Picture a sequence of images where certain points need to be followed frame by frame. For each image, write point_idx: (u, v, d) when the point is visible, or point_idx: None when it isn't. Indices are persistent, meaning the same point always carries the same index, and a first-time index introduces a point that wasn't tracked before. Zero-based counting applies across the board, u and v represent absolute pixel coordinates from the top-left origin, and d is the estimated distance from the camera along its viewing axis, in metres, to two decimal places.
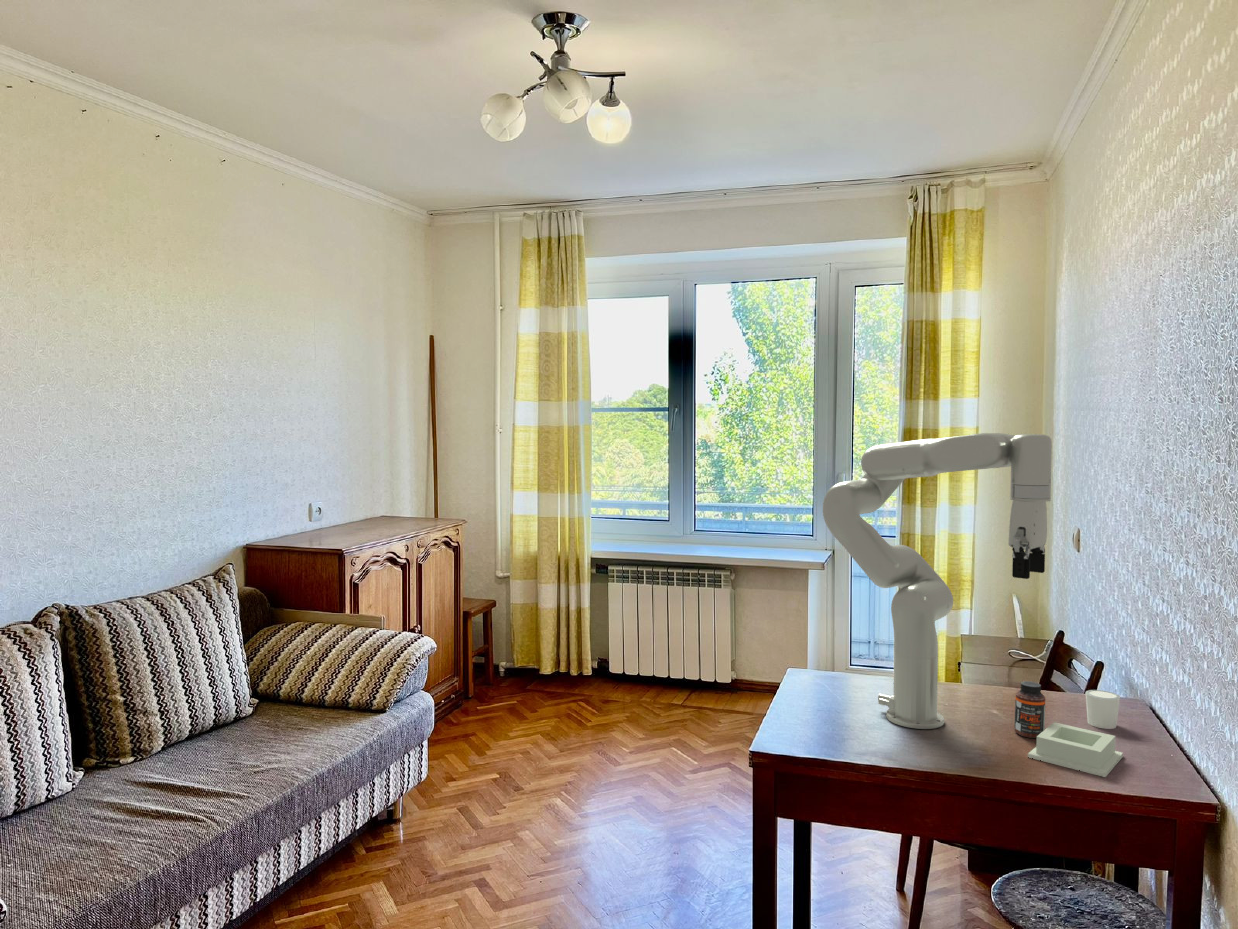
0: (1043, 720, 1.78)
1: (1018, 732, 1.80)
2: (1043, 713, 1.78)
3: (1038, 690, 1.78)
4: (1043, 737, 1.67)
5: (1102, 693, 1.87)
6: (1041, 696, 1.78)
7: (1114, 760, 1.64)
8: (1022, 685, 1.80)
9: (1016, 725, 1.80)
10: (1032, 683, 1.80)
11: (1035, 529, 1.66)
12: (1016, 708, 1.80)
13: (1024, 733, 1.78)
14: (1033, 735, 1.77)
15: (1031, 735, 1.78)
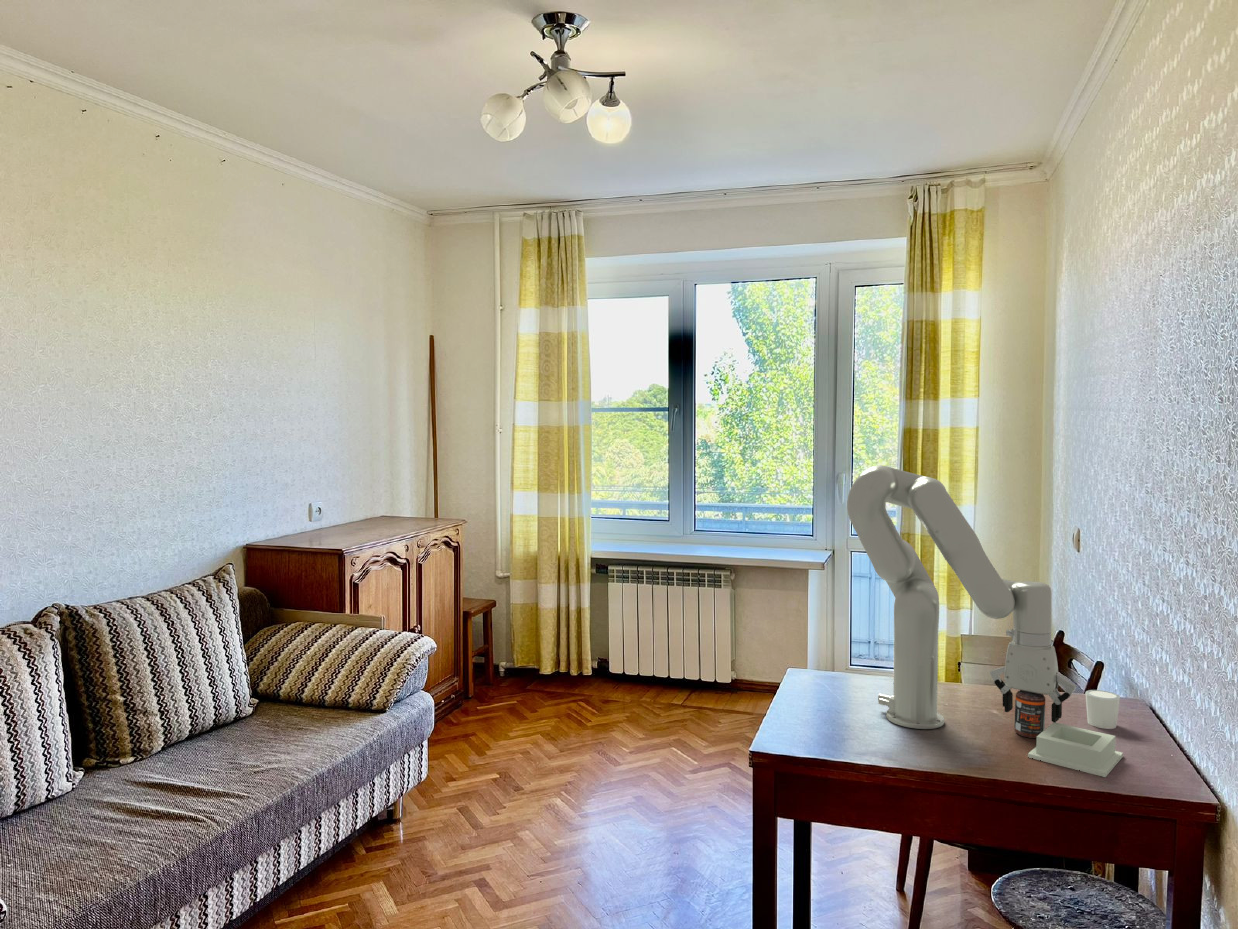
0: (1043, 720, 1.78)
1: (1018, 732, 1.80)
2: (1043, 713, 1.78)
3: None
4: (1043, 737, 1.67)
5: (1102, 693, 1.87)
6: (1041, 696, 1.78)
7: (1114, 760, 1.64)
8: None
9: (1016, 725, 1.80)
10: None
11: None
12: (1016, 708, 1.80)
13: (1024, 733, 1.78)
14: (1033, 735, 1.77)
15: (1031, 735, 1.78)
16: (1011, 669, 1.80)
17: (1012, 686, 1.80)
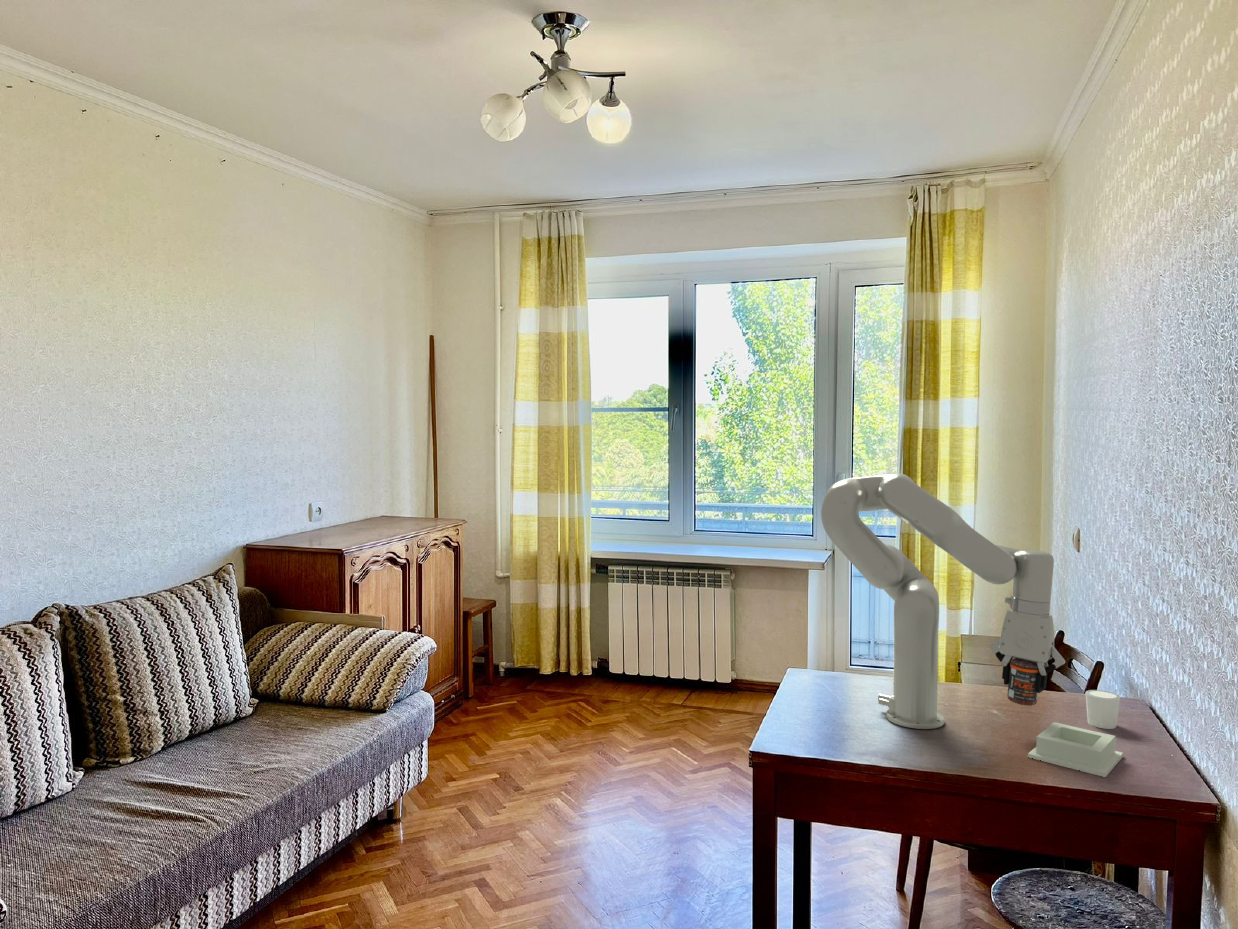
0: None
1: (1011, 699, 1.80)
2: None
3: None
4: (1043, 737, 1.67)
5: (1102, 693, 1.87)
6: None
7: (1114, 760, 1.64)
8: None
9: (1010, 692, 1.80)
10: None
11: None
12: (1010, 675, 1.80)
13: (1017, 700, 1.78)
14: (1026, 702, 1.78)
15: (1024, 702, 1.78)
16: (1007, 635, 1.80)
17: (1007, 653, 1.80)
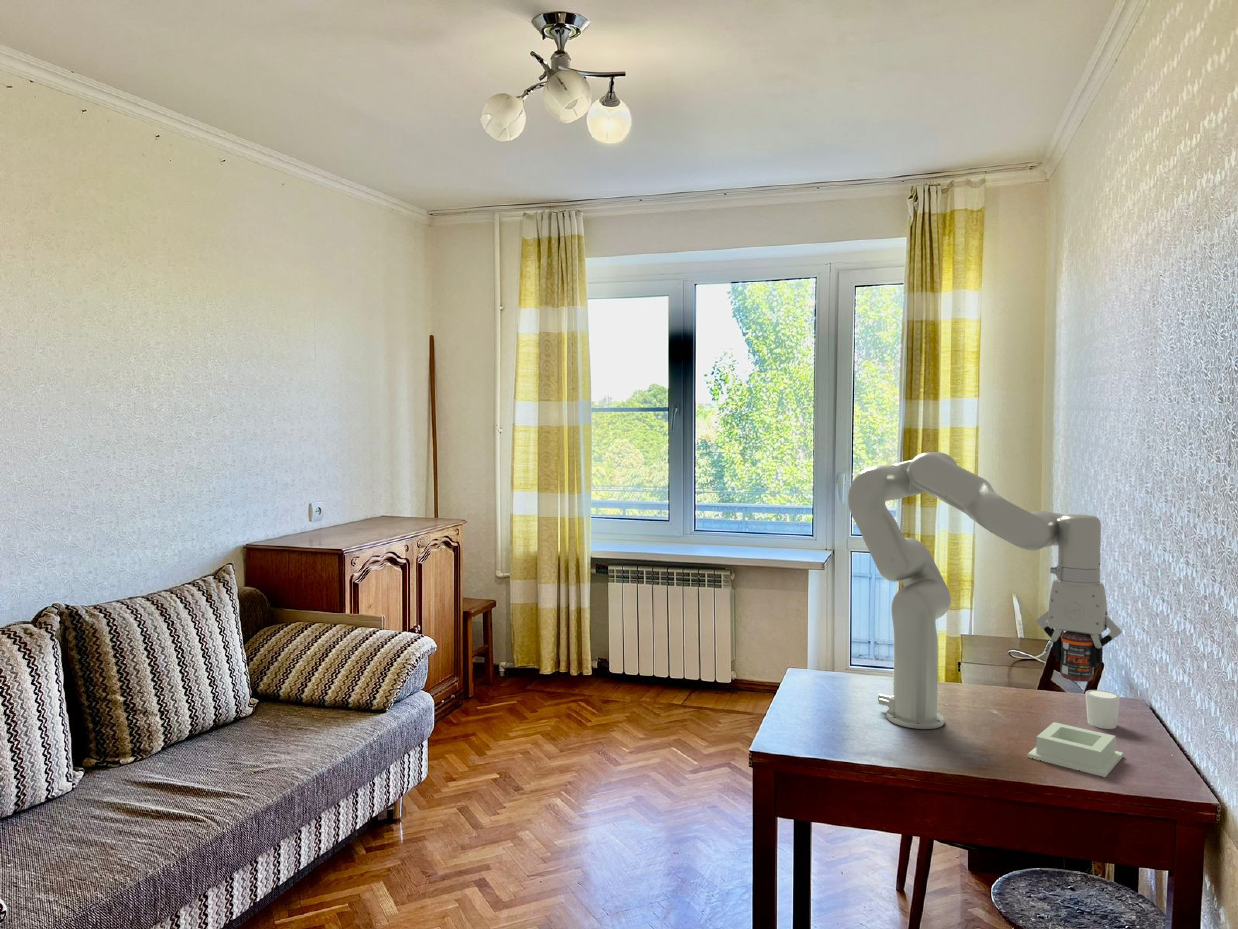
0: None
1: (1065, 676, 1.66)
2: None
3: None
4: (1043, 737, 1.67)
5: (1102, 693, 1.87)
6: (1090, 636, 1.65)
7: (1114, 760, 1.64)
8: None
9: (1063, 668, 1.67)
10: None
11: None
12: (1062, 650, 1.67)
13: (1072, 676, 1.65)
14: (1082, 678, 1.64)
15: (1080, 678, 1.64)
16: (1056, 608, 1.67)
17: (1057, 627, 1.67)
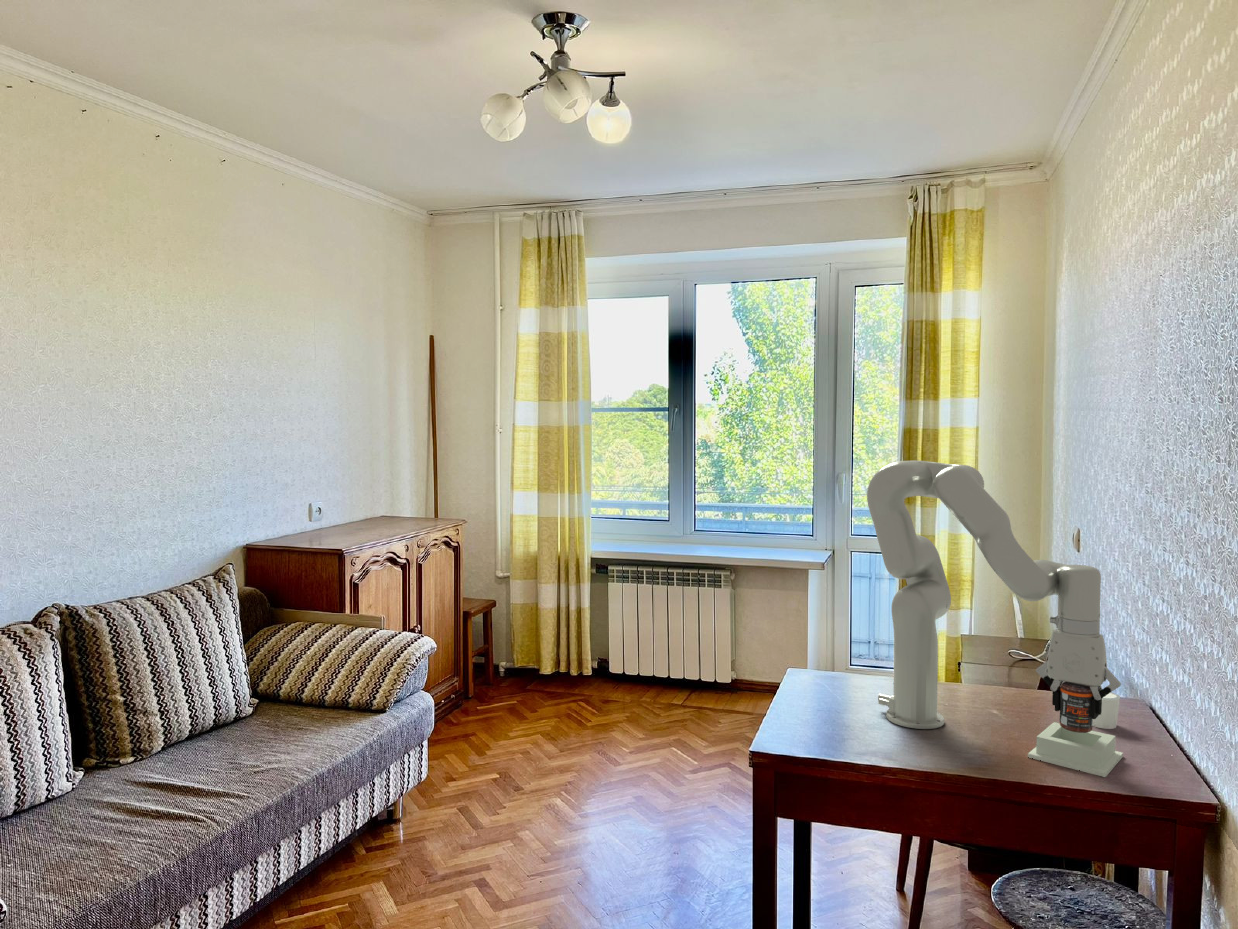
0: None
1: (1064, 726, 1.67)
2: None
3: None
4: (1043, 737, 1.67)
5: None
6: None
7: (1114, 760, 1.64)
8: None
9: (1062, 719, 1.67)
10: None
11: None
12: (1062, 700, 1.67)
13: (1071, 727, 1.65)
14: (1081, 729, 1.65)
15: (1079, 729, 1.65)
16: (1055, 658, 1.67)
17: (1056, 677, 1.67)
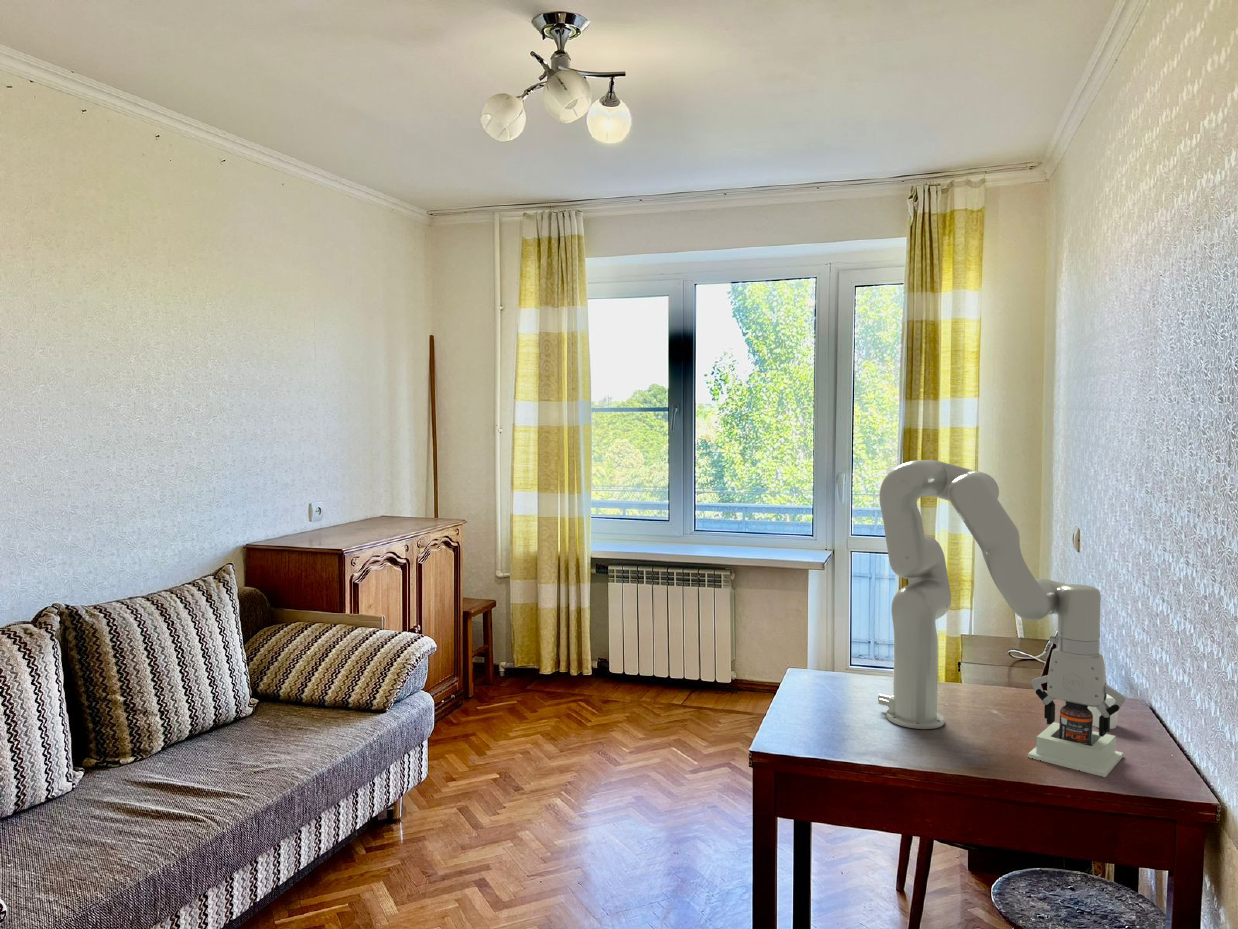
0: (1091, 738, 1.65)
1: None
2: (1091, 730, 1.65)
3: (1085, 706, 1.65)
4: (1043, 737, 1.67)
5: None
6: (1089, 712, 1.65)
7: (1114, 760, 1.64)
8: None
9: None
10: None
11: None
12: (1061, 725, 1.68)
13: None
14: None
15: None
16: (1055, 678, 1.67)
17: (1056, 697, 1.67)
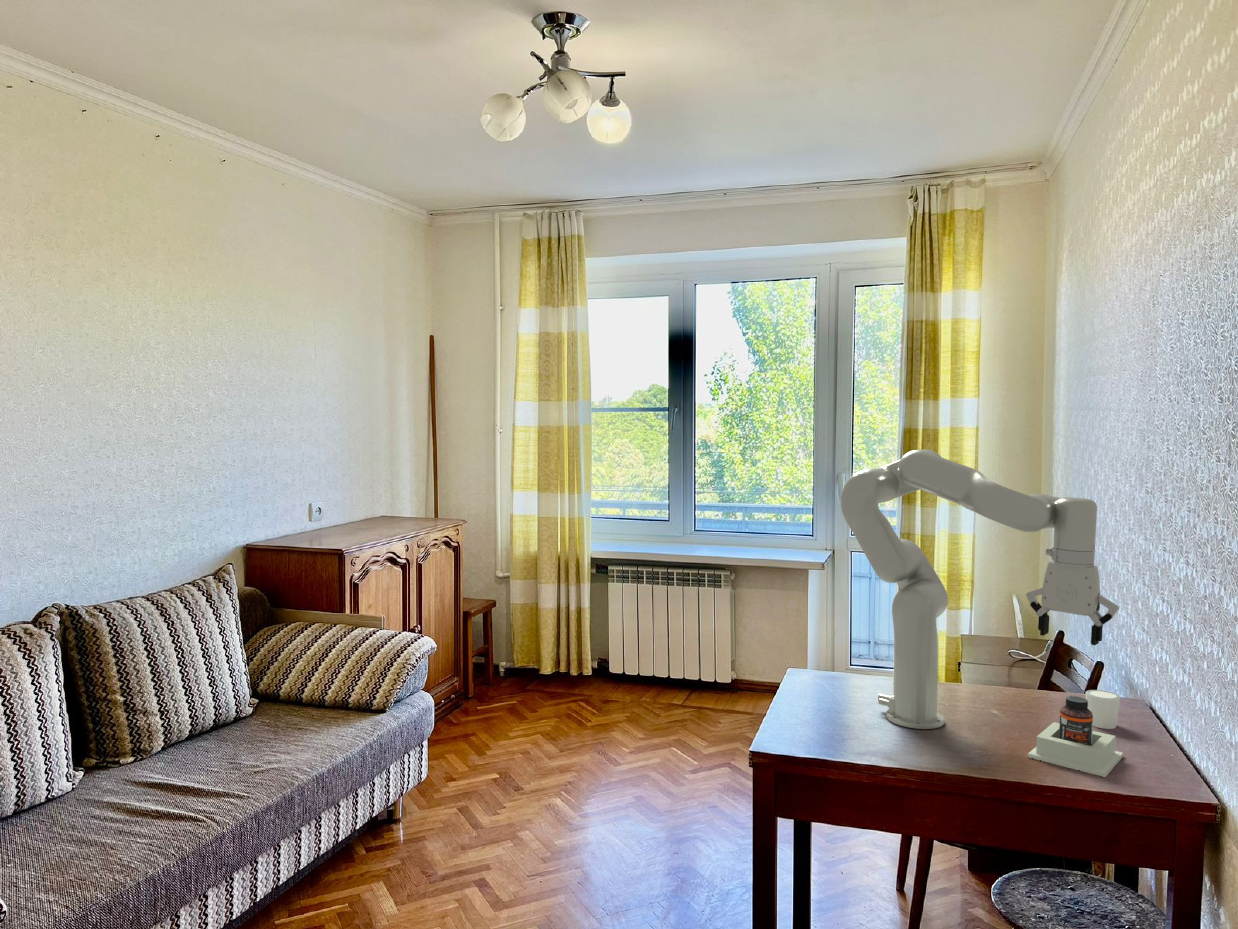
0: (1091, 738, 1.65)
1: None
2: (1091, 731, 1.65)
3: (1085, 706, 1.65)
4: (1043, 737, 1.67)
5: (1102, 693, 1.87)
6: (1089, 712, 1.65)
7: (1114, 760, 1.64)
8: (1067, 700, 1.67)
9: None
10: (1078, 698, 1.67)
11: None
12: (1061, 725, 1.68)
13: None
14: None
15: None
16: (1049, 589, 1.70)
17: (1050, 607, 1.70)
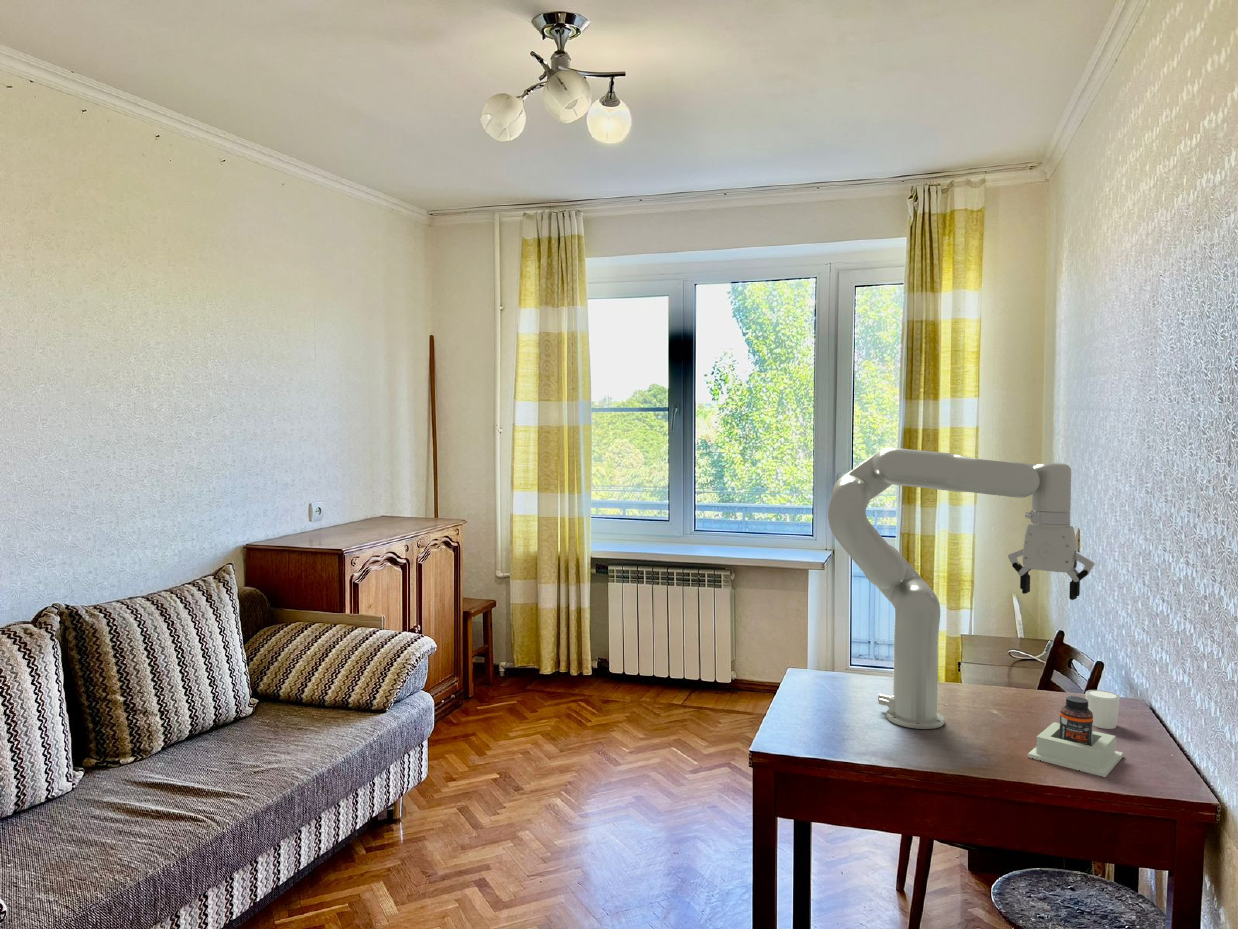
0: (1091, 738, 1.65)
1: None
2: (1091, 731, 1.65)
3: (1085, 706, 1.65)
4: (1043, 737, 1.67)
5: (1102, 693, 1.87)
6: (1089, 712, 1.65)
7: (1114, 760, 1.64)
8: (1068, 700, 1.67)
9: None
10: (1078, 698, 1.67)
11: None
12: (1061, 725, 1.68)
13: None
14: None
15: None
16: (1029, 549, 1.81)
17: (1030, 566, 1.81)
